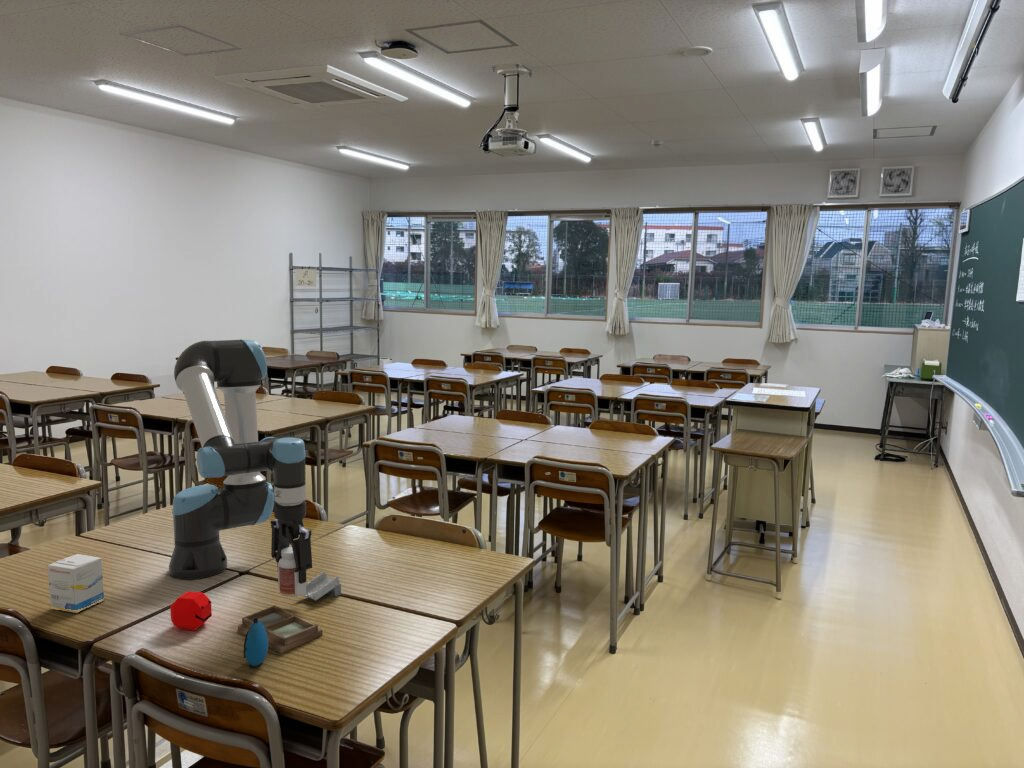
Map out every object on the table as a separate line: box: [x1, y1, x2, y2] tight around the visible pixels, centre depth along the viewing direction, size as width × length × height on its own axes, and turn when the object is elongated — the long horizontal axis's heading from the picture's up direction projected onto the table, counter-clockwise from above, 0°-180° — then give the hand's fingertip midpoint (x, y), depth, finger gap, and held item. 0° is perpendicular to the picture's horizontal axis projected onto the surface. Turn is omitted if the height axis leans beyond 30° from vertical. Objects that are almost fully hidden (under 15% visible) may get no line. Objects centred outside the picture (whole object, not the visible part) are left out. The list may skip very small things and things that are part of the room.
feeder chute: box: [301, 571, 342, 601], centre depth 185 cm, size 6×8×5 cm
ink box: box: [47, 553, 105, 610], centre depth 179 cm, size 9×8×12 cm
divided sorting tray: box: [237, 605, 323, 654], centre depth 165 cm, size 17×11×3 cm, turn 52°
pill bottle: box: [278, 546, 301, 598], centre depth 178 cm, size 6×6×11 cm
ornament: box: [243, 618, 269, 667], centre depth 151 cm, size 8×5×10 cm, turn 5°
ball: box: [169, 591, 213, 631], centre depth 168 cm, size 8×8×8 cm
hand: (292, 590), depth 179 cm, fingers closed on pill bottle, 6 cm apart
